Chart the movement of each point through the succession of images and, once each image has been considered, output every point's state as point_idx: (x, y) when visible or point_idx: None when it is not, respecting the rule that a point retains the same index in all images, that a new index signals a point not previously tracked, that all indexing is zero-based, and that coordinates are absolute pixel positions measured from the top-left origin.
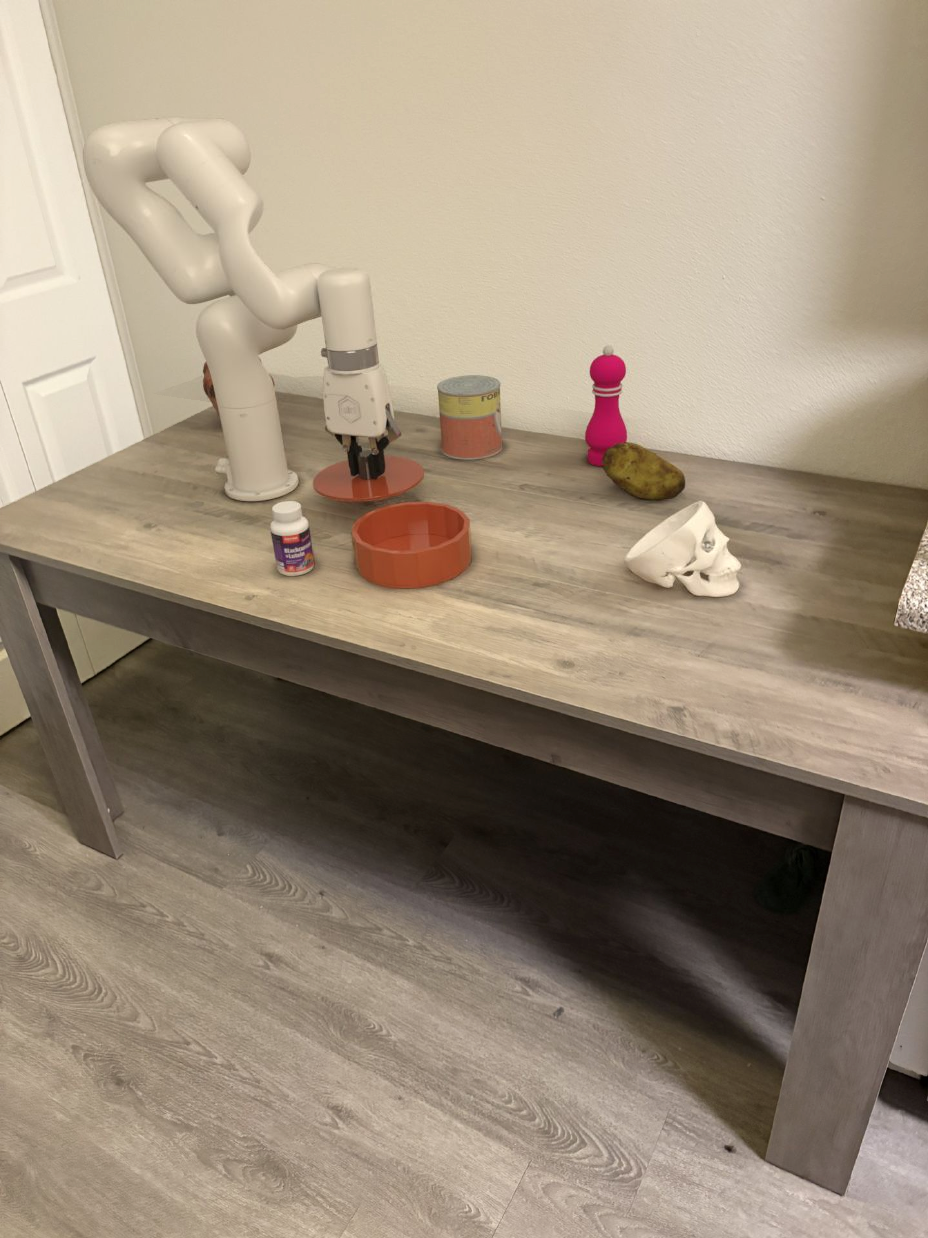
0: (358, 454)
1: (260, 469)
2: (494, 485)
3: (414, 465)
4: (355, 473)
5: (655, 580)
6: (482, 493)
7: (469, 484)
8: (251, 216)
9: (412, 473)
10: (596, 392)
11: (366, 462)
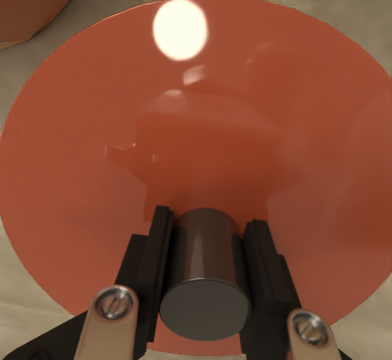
0: (235, 299)
1: None
2: (7, 308)
3: None
4: (248, 226)
5: None
6: (6, 279)
7: (55, 308)
8: None
9: (61, 265)
10: None
11: (187, 257)
